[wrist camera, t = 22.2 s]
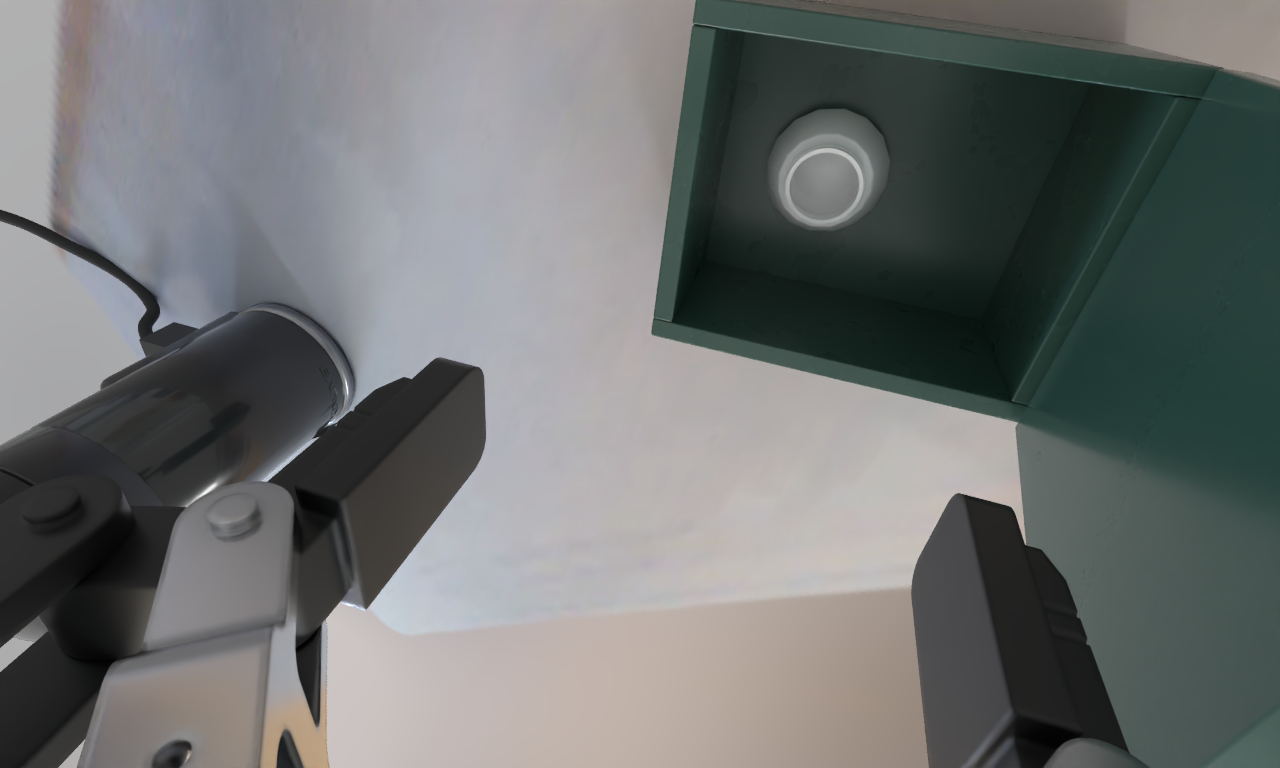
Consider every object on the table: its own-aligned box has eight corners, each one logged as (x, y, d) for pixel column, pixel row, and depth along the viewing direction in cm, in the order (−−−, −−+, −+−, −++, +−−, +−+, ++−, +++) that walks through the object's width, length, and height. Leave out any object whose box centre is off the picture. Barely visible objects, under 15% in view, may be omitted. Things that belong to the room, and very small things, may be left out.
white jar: (834, 79, 26) (745, 169, 28) (832, 89, 23) (735, 186, 26) (913, 169, 26) (819, 247, 29) (919, 187, 24) (816, 271, 27)
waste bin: (690, 266, 32) (650, 335, 26) (735, -10, 26) (696, -6, 19) (988, 330, 30) (1023, 424, 24) (1126, 44, 23) (1227, 68, 17)
